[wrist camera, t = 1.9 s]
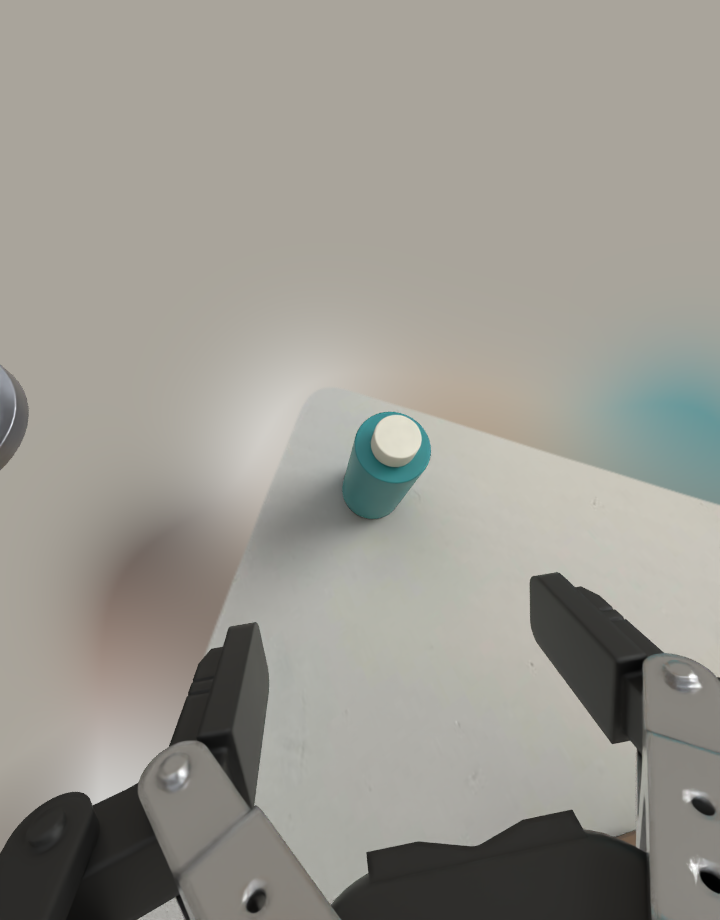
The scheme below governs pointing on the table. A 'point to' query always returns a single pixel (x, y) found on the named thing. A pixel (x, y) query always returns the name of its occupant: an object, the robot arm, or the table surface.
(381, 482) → the water bottle
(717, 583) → the table surface
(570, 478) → the table surface
